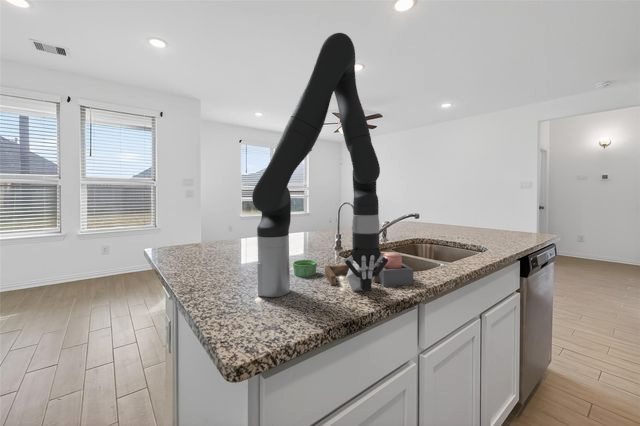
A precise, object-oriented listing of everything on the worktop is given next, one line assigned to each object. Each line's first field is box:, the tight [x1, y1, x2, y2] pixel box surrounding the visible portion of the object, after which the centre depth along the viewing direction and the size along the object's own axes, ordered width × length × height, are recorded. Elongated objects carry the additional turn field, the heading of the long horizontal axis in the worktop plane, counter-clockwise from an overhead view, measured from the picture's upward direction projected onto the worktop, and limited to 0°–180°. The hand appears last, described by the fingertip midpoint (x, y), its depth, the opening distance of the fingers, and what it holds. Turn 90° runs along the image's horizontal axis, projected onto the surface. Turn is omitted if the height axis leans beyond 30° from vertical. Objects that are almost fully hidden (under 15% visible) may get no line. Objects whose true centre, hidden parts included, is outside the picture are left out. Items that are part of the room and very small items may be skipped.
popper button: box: [382, 251, 403, 269], centre depth 93 cm, size 6×6×6 cm
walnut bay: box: [324, 264, 380, 286], centre depth 97 cm, size 16×14×3 cm
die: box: [345, 262, 375, 292], centre depth 85 cm, size 8×9×10 cm
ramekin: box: [292, 259, 318, 278], centre depth 103 cm, size 9×9×4 cm
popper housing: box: [373, 262, 414, 287], centre depth 93 cm, size 10×10×5 cm
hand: (365, 290), depth 80 cm, fingers closed
